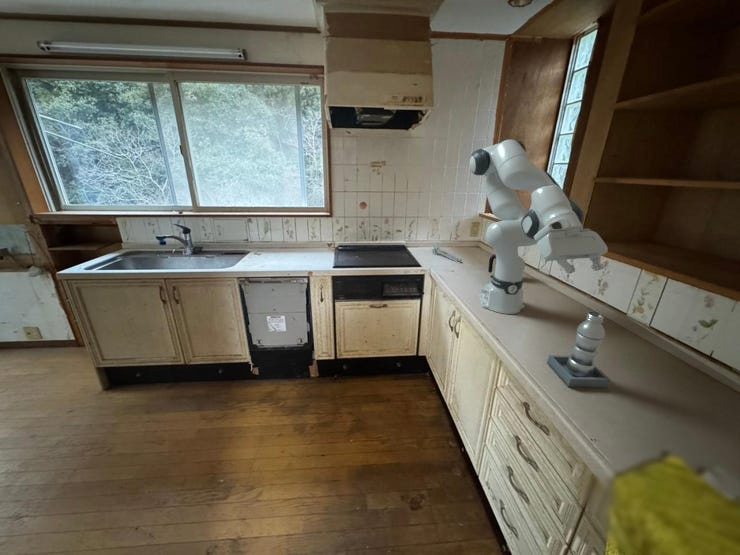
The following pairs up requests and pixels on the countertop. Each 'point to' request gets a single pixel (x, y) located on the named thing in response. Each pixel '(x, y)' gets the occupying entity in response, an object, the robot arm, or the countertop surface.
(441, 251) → the wrench
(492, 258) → the milk frother
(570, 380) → the holder
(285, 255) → the countertop surface
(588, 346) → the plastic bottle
